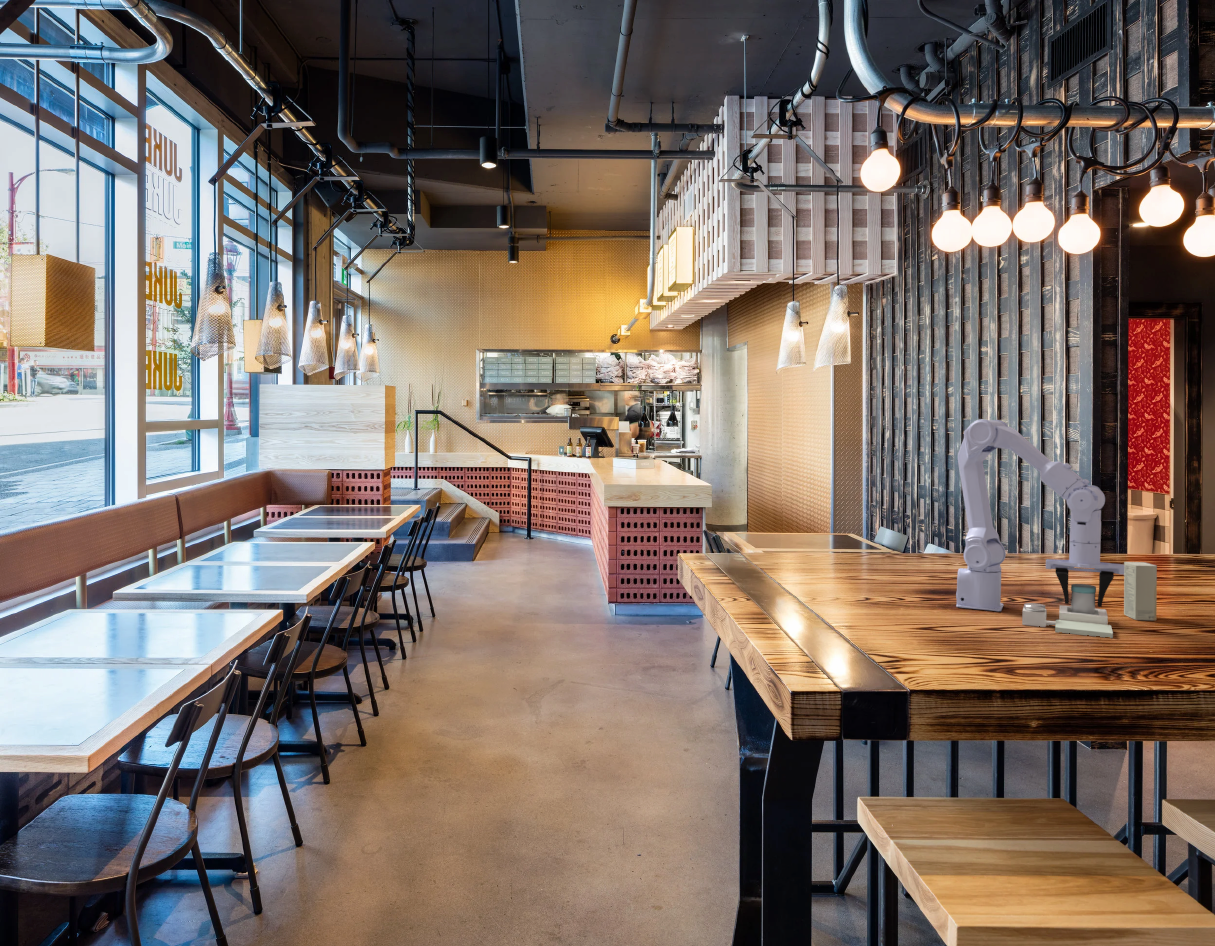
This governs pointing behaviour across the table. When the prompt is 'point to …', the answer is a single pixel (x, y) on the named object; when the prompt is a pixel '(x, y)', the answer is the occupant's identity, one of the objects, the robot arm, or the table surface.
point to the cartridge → (1083, 598)
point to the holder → (1064, 617)
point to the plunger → (1034, 607)
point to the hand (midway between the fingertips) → (1083, 604)
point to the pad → (1083, 628)
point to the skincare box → (1140, 590)
